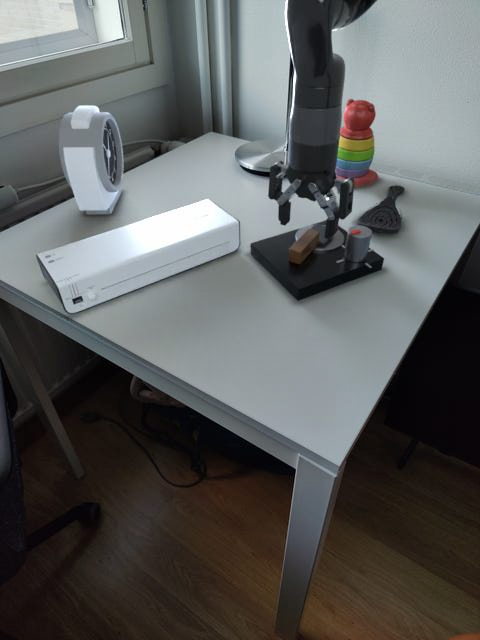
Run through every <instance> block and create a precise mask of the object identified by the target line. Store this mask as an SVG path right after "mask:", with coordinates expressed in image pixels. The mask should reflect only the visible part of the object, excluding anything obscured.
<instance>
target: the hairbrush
mask: <svg viewBox="0 0 480 640" xmlns="http://www.w3.org/2000/svg"><path fill="white" fill-rule="evenodd" d="M404 193H405V187H404V186H402V185H395V184H394V185H390V186H388V193H387V195H386V196H385V198H384V199H382V200H381V201H380V202H379V203H378V202H377V203H375V204H374V206H371V207H370V208H368V209H367V210H366V211H365V212H364V213H363V214H362V215H361V216H360V217H359V218H358V220H357V223H356V226H365V227H367V228H369V229H370V230H371V231H372V232H377V233H383V234H387V235H388V234H389V235H390V234H398V232H399V231H400V229H401V226H402V219H403V216H402V212H401V209H398V208H397V206H398V203H396V200H397V199H398V198H399V197H400V196H402V195H403V194H404ZM396 205H397V206H396Z"/></svg>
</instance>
